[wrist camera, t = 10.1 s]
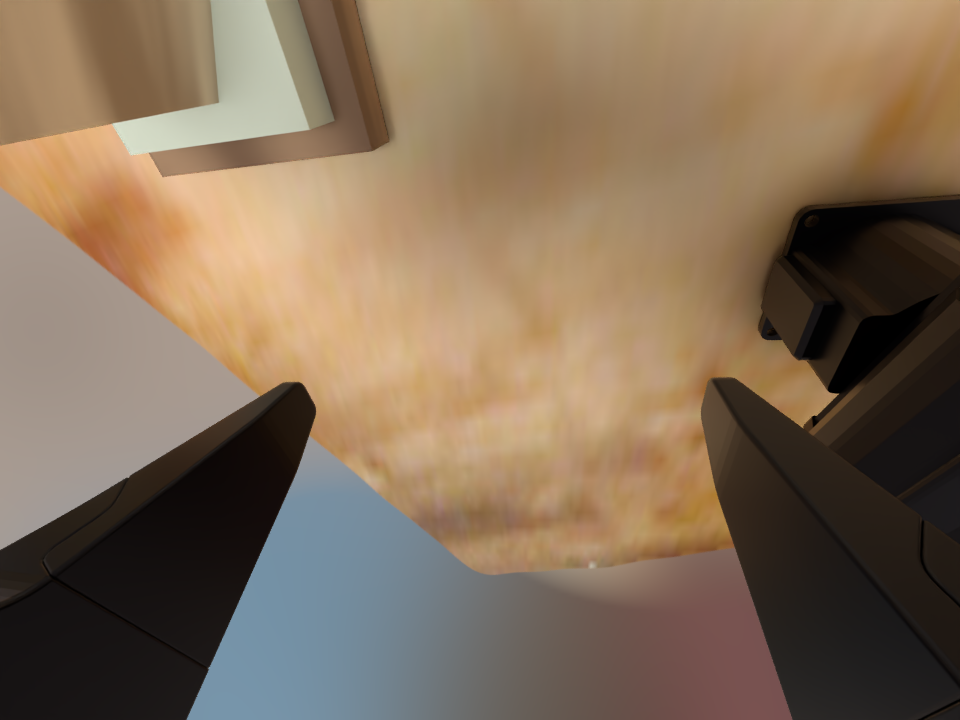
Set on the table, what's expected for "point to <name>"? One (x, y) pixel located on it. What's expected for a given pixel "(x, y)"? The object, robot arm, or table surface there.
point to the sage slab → (245, 83)
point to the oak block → (101, 63)
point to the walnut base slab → (347, 90)
